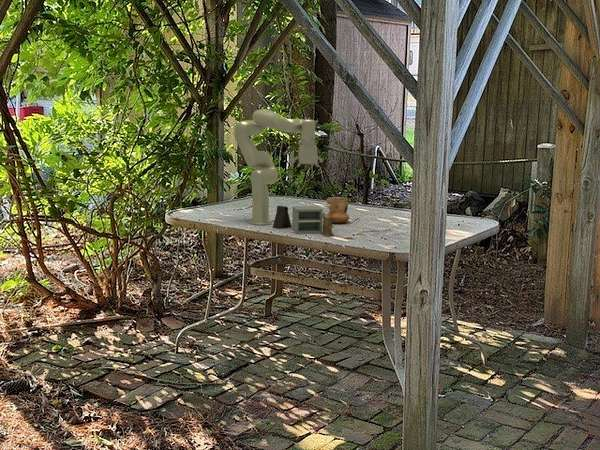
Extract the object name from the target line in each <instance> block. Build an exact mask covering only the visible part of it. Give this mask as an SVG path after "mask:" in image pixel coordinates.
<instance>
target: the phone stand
mask: <svg viewBox="0 0 600 450" xmlns="http://www.w3.org/2000/svg"><path fill="white" fill-rule="evenodd" d="M272 228H274V229H279V230H282V229H292V222H291V218H290V215H289V207H288V206H284V205H277V206H276V214H275V217H274V221H273V225H272Z"/></svg>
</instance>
